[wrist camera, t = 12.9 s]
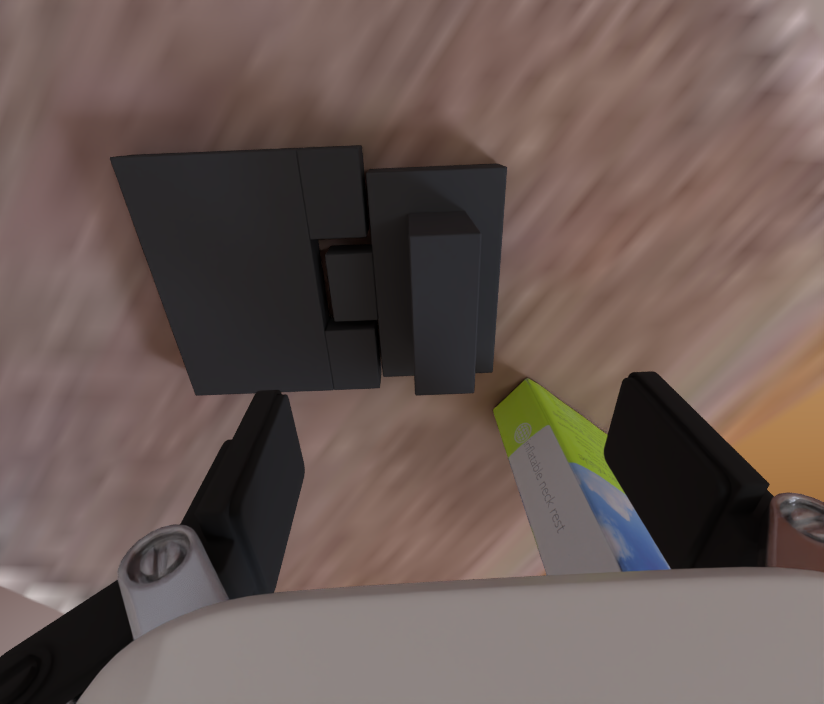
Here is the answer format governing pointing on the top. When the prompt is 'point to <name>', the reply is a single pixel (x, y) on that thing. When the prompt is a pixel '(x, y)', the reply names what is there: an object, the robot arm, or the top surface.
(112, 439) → the top surface
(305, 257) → the base pad
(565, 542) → the box
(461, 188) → the pad
